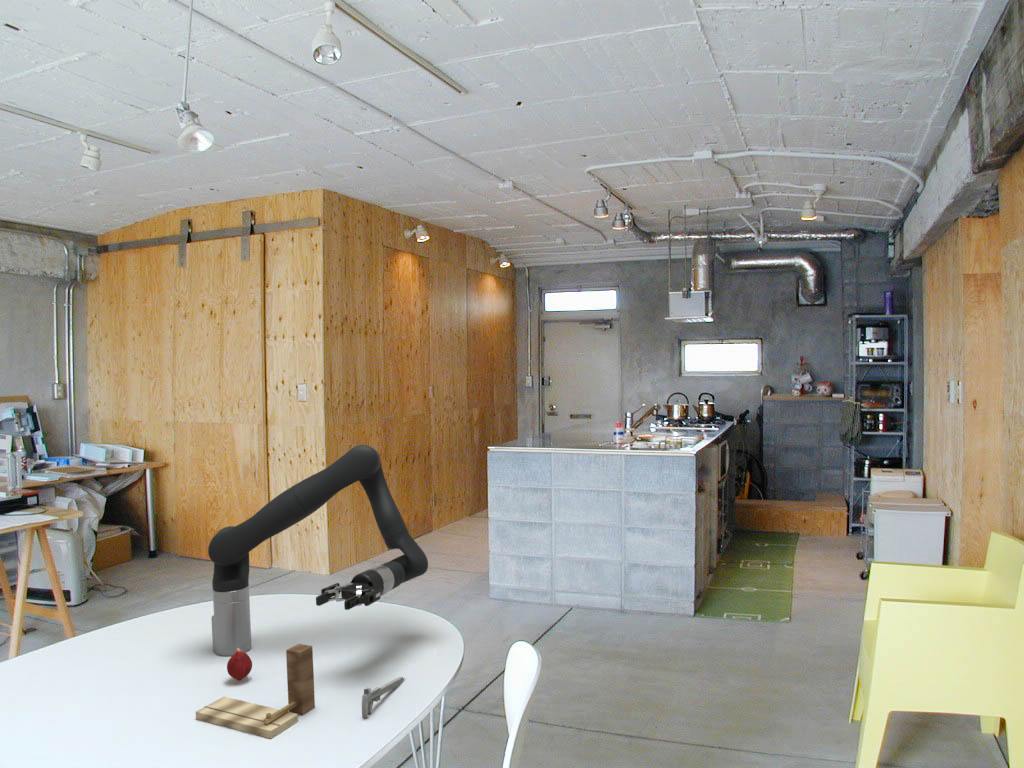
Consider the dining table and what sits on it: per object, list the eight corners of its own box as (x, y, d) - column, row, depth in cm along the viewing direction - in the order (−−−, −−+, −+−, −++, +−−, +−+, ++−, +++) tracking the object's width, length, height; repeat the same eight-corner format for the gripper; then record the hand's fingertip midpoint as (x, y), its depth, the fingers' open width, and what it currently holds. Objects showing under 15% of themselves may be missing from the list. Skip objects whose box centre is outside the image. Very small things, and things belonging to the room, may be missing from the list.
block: (258, 730, 159) (255, 665, 159) (301, 704, 171) (298, 643, 170) (272, 734, 157) (270, 668, 157) (314, 707, 169) (312, 646, 168)
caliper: (366, 720, 163) (365, 692, 163) (362, 720, 163) (361, 691, 163) (405, 680, 182) (404, 655, 182) (401, 680, 183) (400, 654, 182)
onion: (257, 677, 186) (256, 645, 186) (242, 687, 181) (240, 654, 181) (238, 674, 188) (236, 643, 188) (222, 684, 183) (221, 651, 183)
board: (196, 718, 165) (195, 711, 165) (224, 703, 173) (224, 696, 172) (271, 738, 156) (270, 730, 156) (298, 721, 163) (297, 713, 163)
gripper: (349, 566, 195) (307, 585, 180) (395, 571, 189) (354, 591, 174) (351, 595, 195) (308, 615, 181) (396, 601, 189) (356, 623, 174)
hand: (331, 603), depth 177 cm, fingers open, 8 cm apart
